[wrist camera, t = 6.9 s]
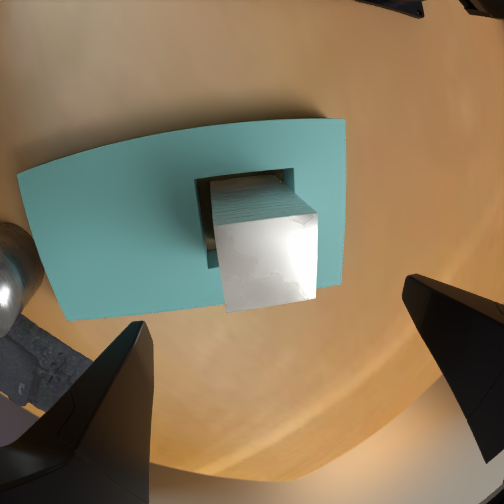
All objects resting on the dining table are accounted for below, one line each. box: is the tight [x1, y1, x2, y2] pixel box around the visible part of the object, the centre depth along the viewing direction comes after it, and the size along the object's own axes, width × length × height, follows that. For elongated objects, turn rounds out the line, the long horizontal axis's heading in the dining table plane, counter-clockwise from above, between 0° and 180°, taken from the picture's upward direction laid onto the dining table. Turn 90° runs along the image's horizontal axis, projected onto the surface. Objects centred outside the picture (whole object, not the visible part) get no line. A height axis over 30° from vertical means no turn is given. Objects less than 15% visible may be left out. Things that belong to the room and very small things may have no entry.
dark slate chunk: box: [0, 313, 93, 412], centre depth 21 cm, size 15×22×5 cm
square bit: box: [210, 174, 318, 313], centre depth 15 cm, size 4×4×8 cm
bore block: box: [17, 118, 346, 321], centre depth 17 cm, size 20×11×2 cm, turn 95°
